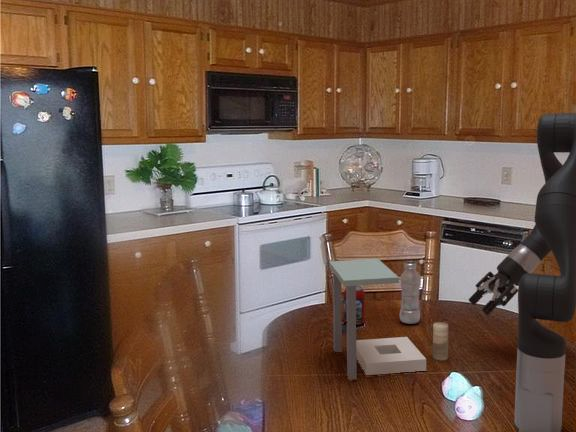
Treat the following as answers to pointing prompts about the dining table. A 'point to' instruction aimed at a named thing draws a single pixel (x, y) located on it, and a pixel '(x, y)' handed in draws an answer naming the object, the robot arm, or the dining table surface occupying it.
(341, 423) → the dining table surface
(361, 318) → the beverage can
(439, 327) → the peg
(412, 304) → the plastic bottle
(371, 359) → the socket
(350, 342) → the two-legged shelf table
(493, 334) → the dining table surface
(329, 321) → the dining table surface
